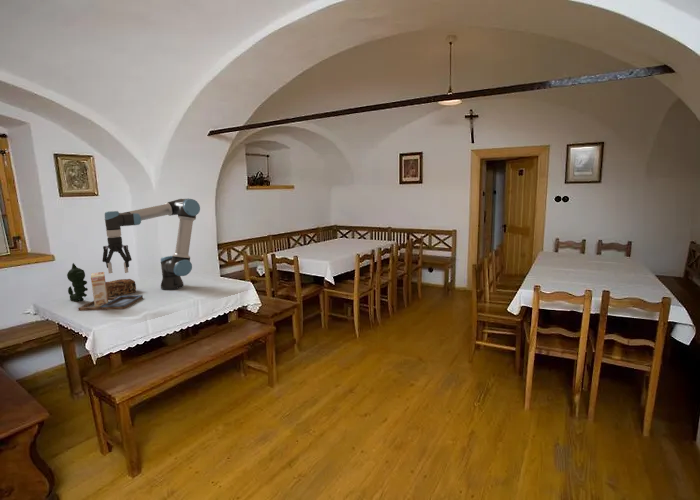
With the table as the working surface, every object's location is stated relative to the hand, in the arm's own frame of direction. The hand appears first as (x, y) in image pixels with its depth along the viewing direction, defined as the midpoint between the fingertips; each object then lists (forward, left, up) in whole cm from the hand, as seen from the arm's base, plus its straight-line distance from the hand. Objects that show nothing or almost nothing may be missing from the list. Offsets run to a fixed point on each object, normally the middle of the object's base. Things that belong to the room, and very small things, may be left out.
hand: (118, 272), depth 235 cm
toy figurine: (+35, -11, -20) cm, 42 cm away
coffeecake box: (+13, 0, -20) cm, 24 cm away
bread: (+15, -25, -20) cm, 36 cm away
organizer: (+6, 0, -20) cm, 21 cm away
